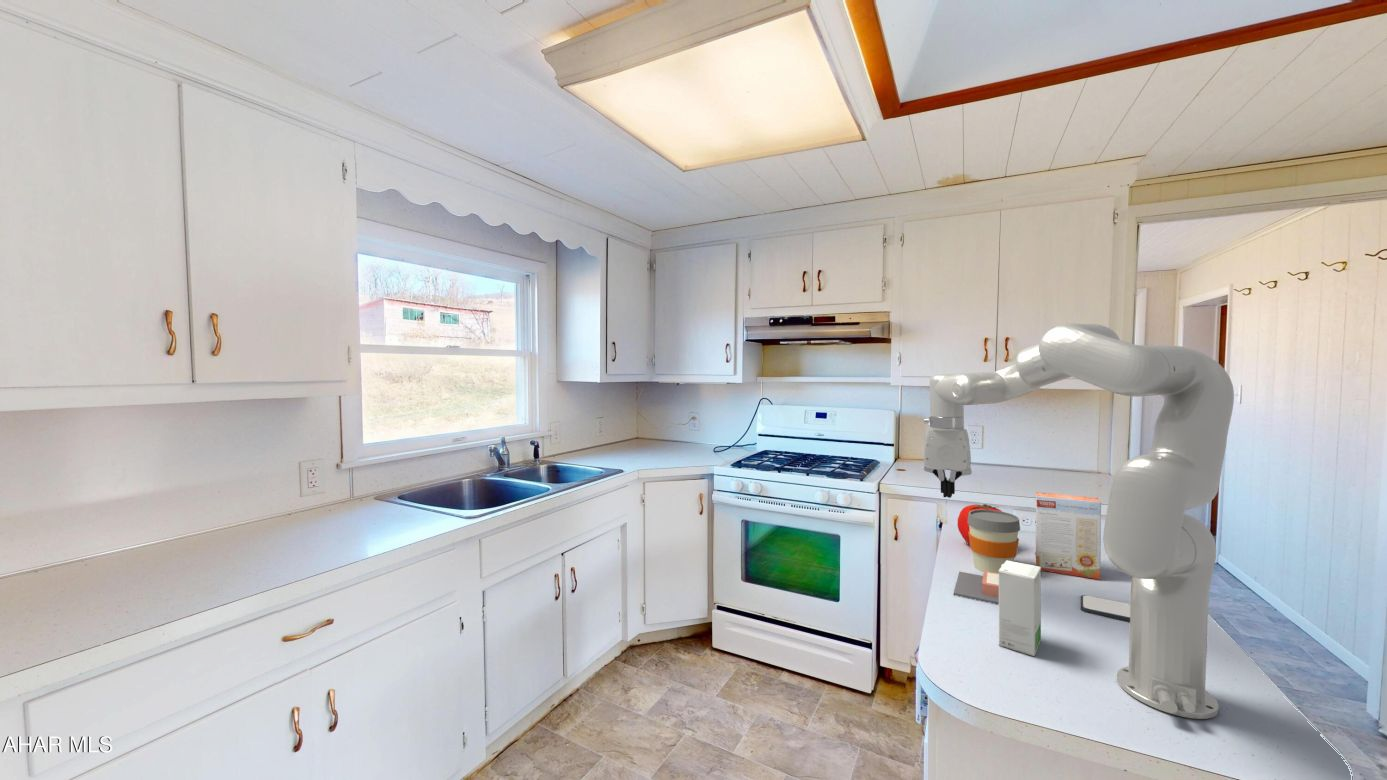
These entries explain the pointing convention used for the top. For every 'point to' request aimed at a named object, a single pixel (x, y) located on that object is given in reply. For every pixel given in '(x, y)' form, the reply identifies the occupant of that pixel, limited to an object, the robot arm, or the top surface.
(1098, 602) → the smartphone
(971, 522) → the reusable coffee cup
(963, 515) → the tomato
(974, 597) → the mat
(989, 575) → the card box
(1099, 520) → the cracker box
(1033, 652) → the skincare box
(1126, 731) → the top surface
